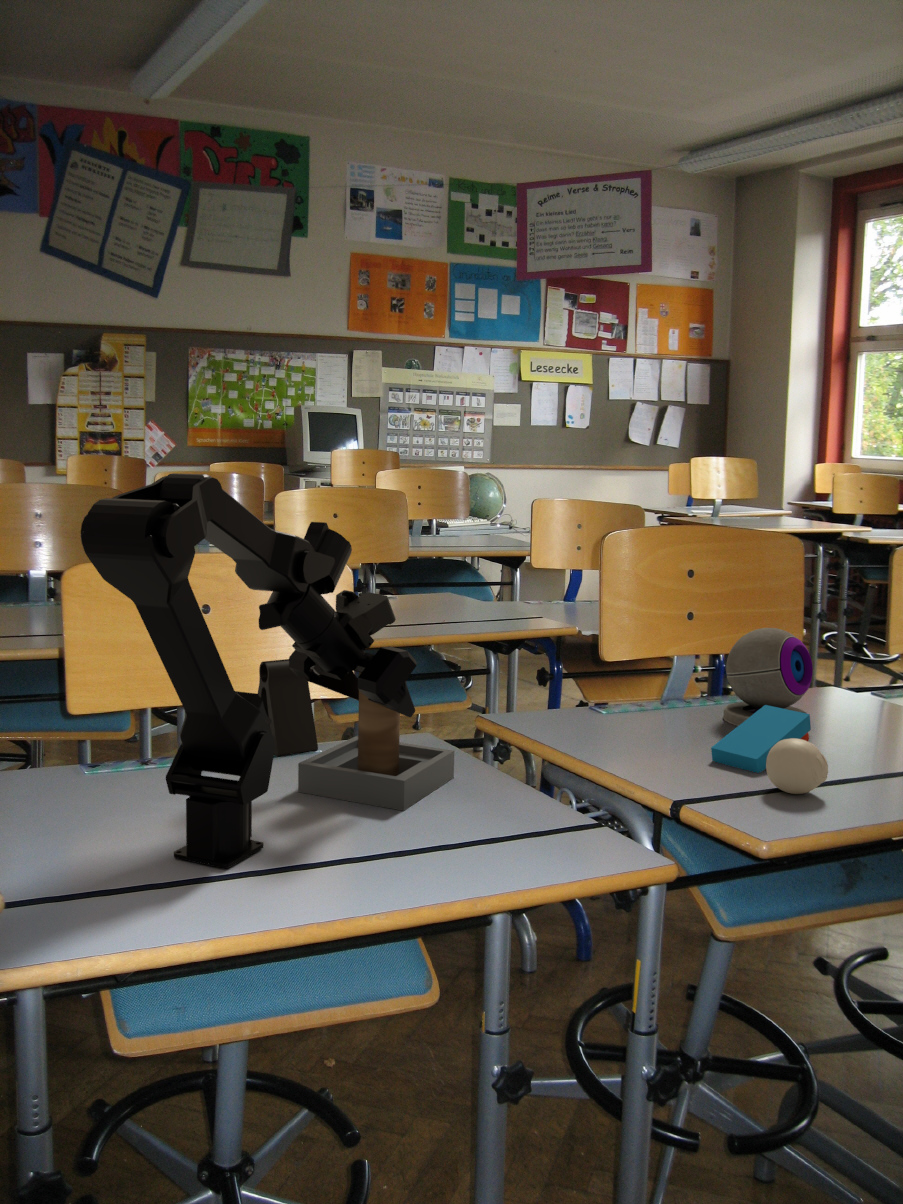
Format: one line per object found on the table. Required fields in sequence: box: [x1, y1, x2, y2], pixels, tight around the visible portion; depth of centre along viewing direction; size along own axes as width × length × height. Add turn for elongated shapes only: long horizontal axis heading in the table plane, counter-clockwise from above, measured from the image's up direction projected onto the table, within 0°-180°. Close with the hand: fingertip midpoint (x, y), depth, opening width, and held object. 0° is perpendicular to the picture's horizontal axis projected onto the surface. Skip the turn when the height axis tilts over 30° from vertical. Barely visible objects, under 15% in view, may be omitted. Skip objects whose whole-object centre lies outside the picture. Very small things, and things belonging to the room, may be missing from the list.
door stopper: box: [257, 658, 319, 757], centre depth 139 cm, size 9×6×12 cm, turn 35°
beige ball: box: [765, 738, 829, 795], centre depth 125 cm, size 7×7×7 cm
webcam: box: [723, 627, 814, 727], centre depth 161 cm, size 13×13×15 cm
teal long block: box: [710, 705, 811, 774], centre depth 142 cm, size 7×7×18 cm
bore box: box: [297, 735, 455, 812], centre depth 124 cm, size 14×14×4 cm
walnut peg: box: [357, 672, 401, 776], centre depth 123 cm, size 5×5×15 cm
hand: (388, 706), depth 124 cm, fingers open, 9 cm apart
